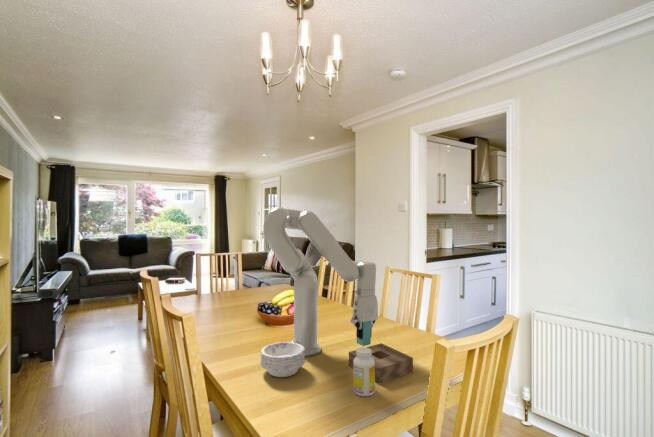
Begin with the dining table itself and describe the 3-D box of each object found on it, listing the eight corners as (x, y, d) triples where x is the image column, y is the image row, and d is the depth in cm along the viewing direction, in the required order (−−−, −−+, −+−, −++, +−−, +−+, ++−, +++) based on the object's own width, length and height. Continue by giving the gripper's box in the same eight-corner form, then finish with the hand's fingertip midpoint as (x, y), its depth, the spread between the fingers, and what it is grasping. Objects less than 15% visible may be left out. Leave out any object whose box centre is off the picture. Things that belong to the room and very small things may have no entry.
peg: (362, 346, 132) (364, 321, 132) (356, 342, 136) (357, 318, 136) (370, 344, 135) (371, 319, 135) (364, 341, 138) (365, 317, 138)
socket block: (378, 384, 107) (378, 368, 107) (348, 365, 120) (348, 352, 120) (412, 372, 116) (412, 357, 116) (381, 356, 129) (381, 343, 129)
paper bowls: (283, 358, 126) (283, 337, 126) (313, 370, 117) (313, 347, 117) (251, 372, 115) (251, 349, 115) (281, 386, 105) (281, 361, 105)
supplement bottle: (372, 386, 106) (373, 346, 106) (376, 397, 99) (376, 354, 99) (351, 386, 105) (352, 346, 105) (354, 397, 99) (354, 354, 99)
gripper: (355, 296, 128) (353, 343, 127) (387, 292, 137) (385, 336, 137) (343, 292, 134) (341, 337, 134) (374, 288, 143) (373, 331, 143)
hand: (363, 336), depth 135 cm, fingers closed on peg, 4 cm apart
